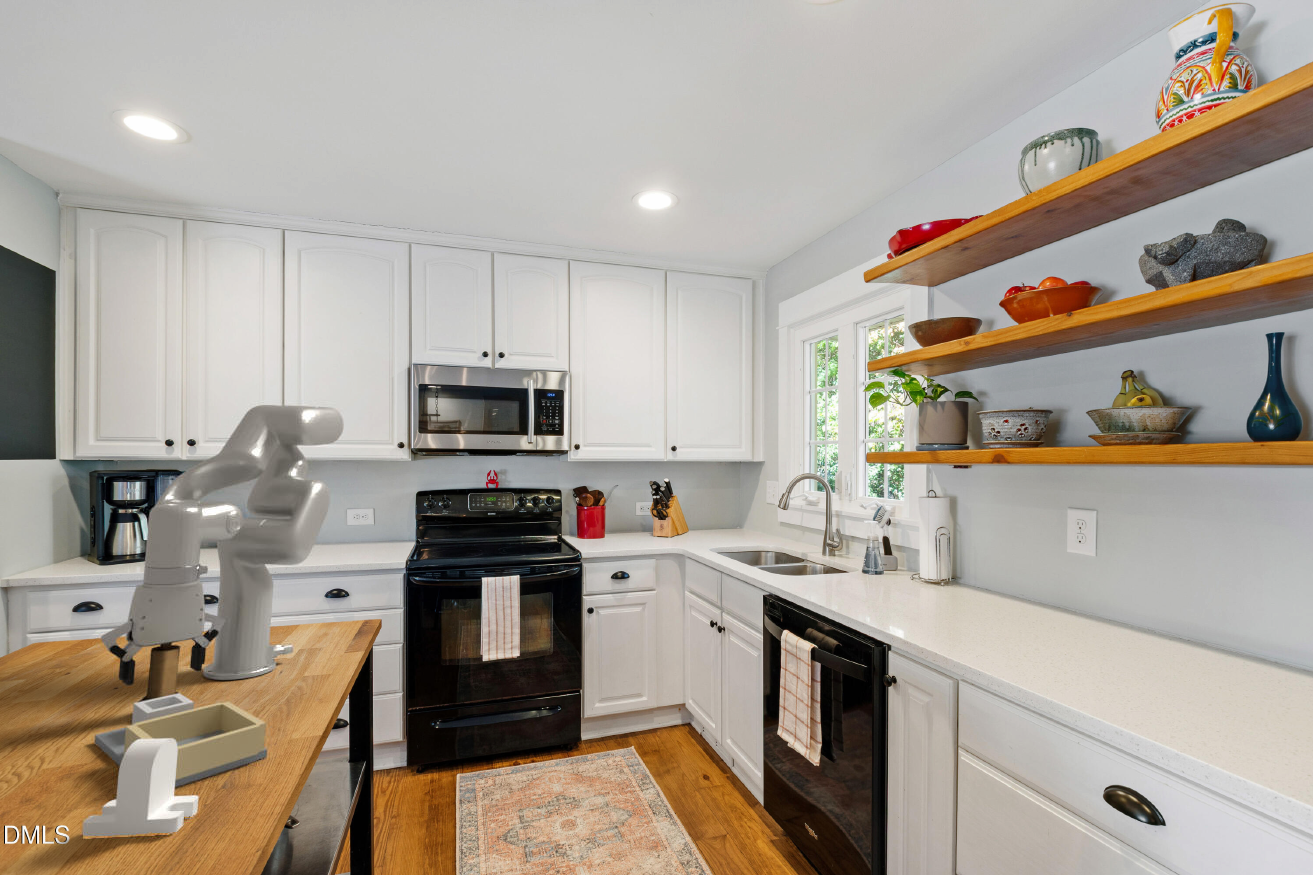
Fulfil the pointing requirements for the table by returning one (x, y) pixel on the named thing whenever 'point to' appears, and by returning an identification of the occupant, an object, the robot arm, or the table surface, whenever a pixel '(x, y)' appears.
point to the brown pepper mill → (162, 671)
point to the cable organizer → (144, 794)
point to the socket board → (192, 735)
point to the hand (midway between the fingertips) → (162, 675)
